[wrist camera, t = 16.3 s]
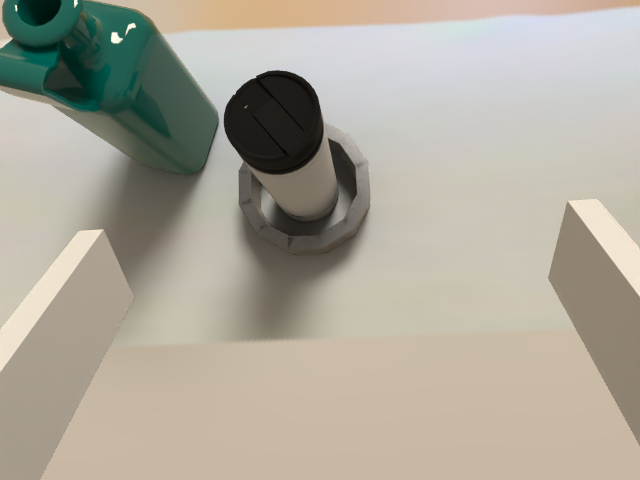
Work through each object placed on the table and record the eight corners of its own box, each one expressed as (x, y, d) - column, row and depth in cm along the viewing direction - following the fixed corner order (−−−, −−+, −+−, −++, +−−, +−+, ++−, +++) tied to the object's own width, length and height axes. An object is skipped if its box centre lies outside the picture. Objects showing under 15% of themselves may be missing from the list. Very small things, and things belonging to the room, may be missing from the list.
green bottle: (153, 90, 51) (-1, -71, 30) (224, 106, 50) (118, -49, 29) (125, 173, 50) (-58, 68, 28) (197, 192, 49) (65, 97, 27)
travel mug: (306, 238, 47) (264, 184, 27) (266, 190, 48) (198, 106, 29) (353, 198, 47) (345, 117, 28) (312, 152, 48) (276, 42, 29)
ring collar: (389, 167, 47) (392, 153, 43) (334, 275, 46) (331, 271, 42) (284, 117, 49) (277, 101, 45) (228, 220, 48) (215, 212, 44)
